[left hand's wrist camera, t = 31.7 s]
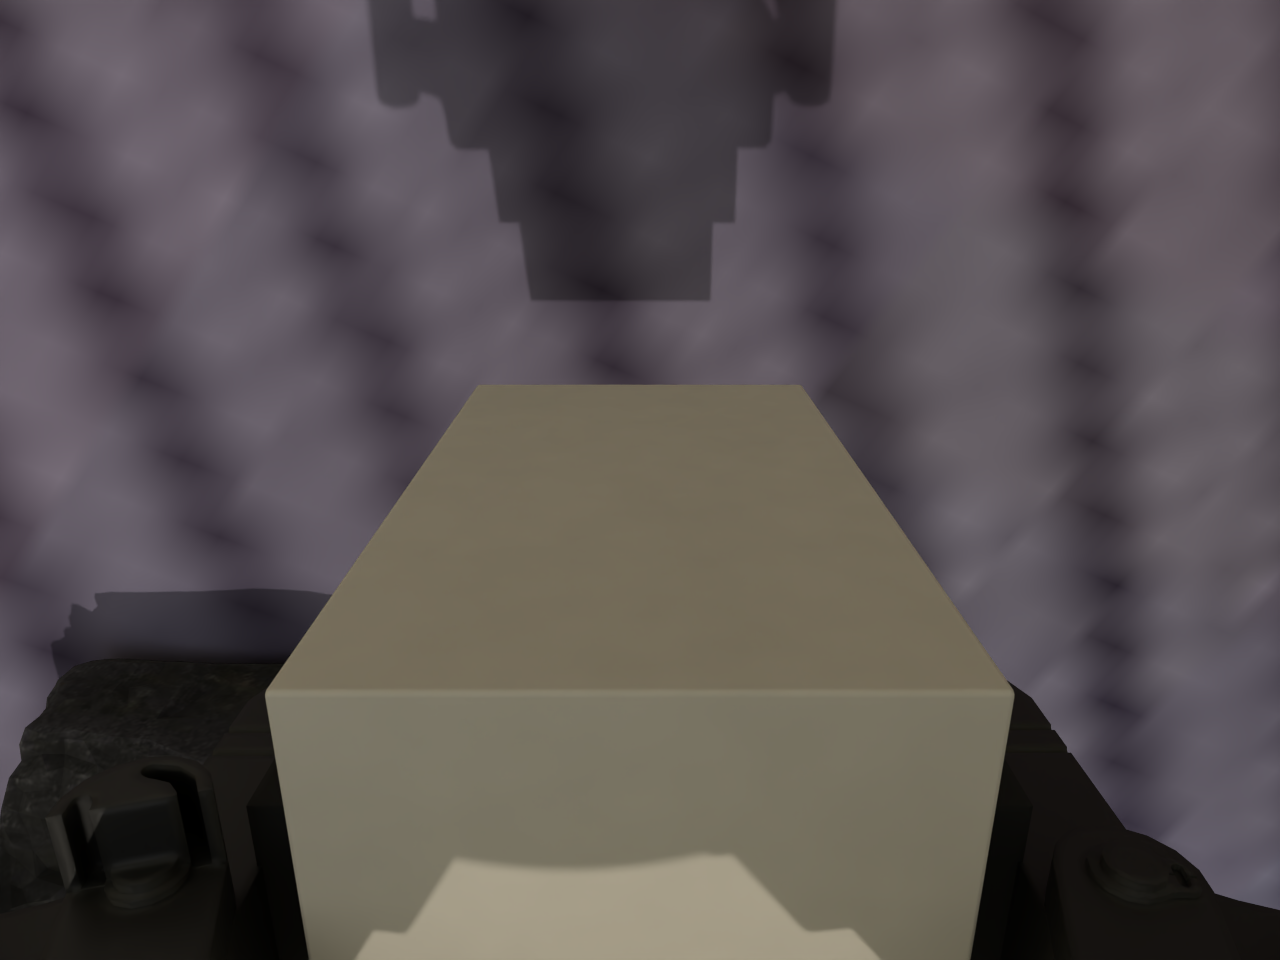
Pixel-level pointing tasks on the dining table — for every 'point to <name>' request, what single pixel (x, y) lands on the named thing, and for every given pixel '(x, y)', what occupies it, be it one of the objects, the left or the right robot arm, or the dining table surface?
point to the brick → (639, 700)
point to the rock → (109, 747)
